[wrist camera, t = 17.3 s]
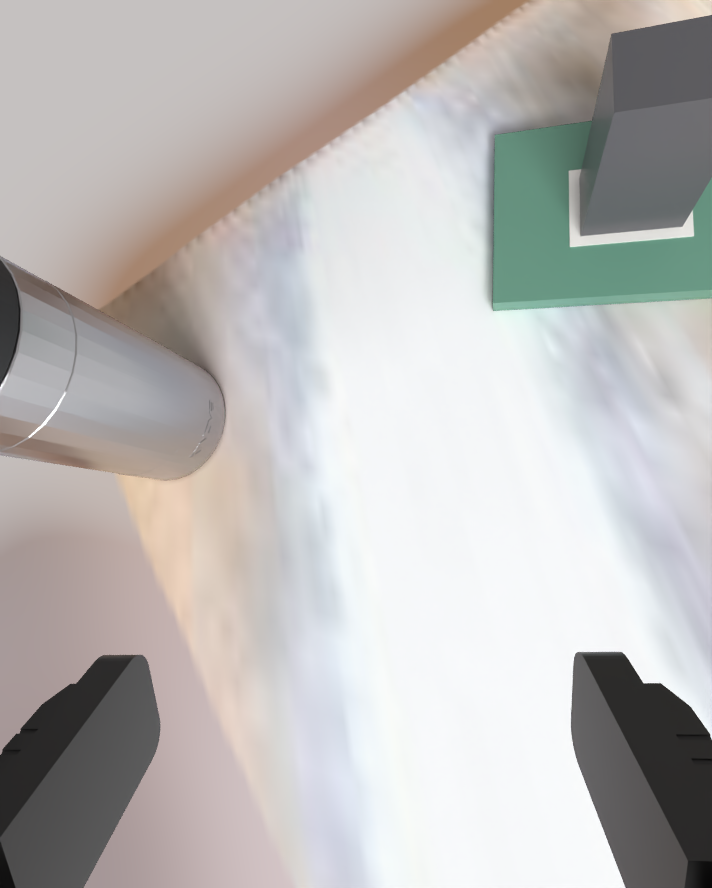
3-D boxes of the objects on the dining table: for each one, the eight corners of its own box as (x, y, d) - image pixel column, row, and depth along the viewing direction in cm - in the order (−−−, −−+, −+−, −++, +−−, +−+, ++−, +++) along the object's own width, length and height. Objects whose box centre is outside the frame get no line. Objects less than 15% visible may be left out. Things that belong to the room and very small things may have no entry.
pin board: (493, 310, 34) (492, 285, 31) (494, 147, 36) (494, 106, 33) (779, 294, 30) (816, 262, 27) (765, 109, 32) (797, 57, 28)
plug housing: (580, 236, 32) (614, 112, 23) (579, 177, 33) (611, 33, 23) (682, 226, 31) (763, 90, 21) (679, 165, 31) (756, 6, 22)
